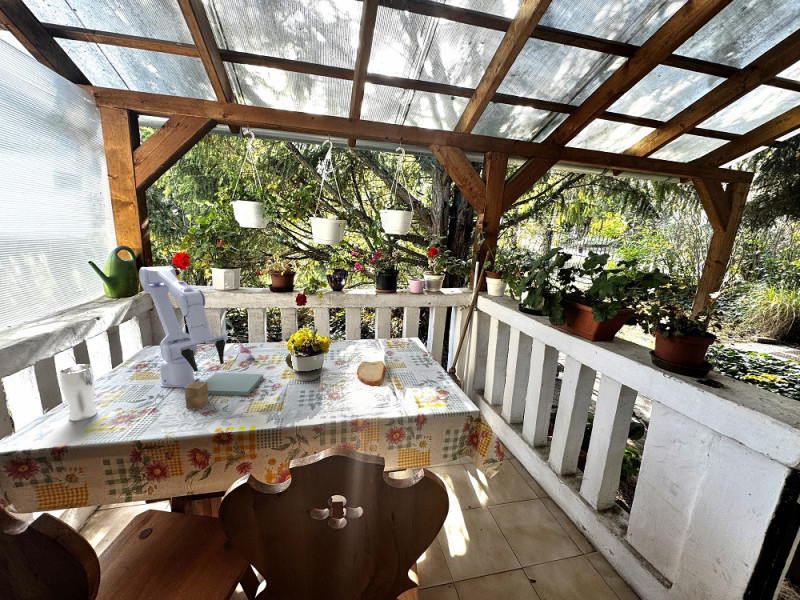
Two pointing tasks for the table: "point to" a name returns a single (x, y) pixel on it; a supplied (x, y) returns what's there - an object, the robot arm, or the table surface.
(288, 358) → the potato
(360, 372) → the slice of bread
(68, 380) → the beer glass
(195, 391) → the walnut block
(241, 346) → the lily
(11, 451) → the table surface
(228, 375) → the slate board
